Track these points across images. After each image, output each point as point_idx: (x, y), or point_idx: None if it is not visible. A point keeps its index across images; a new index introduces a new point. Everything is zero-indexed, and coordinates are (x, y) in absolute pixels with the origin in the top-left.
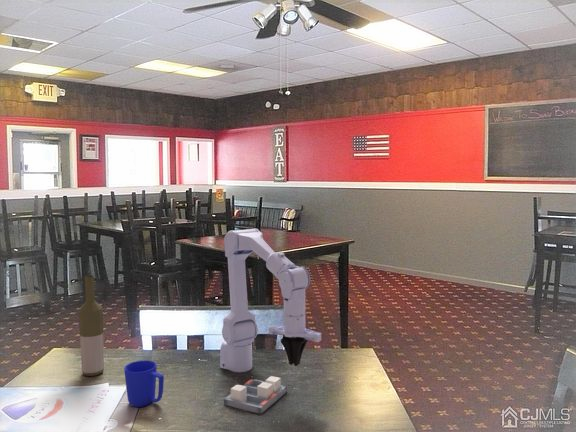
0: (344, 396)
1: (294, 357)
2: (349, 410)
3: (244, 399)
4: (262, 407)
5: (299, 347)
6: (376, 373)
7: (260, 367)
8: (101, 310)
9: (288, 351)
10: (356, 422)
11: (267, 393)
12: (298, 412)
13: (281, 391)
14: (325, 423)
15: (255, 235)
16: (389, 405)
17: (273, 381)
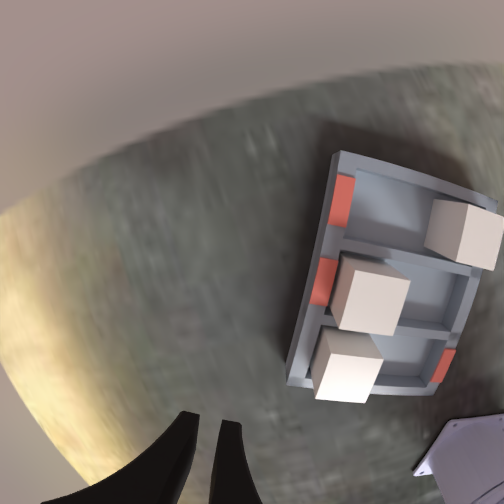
0: (99, 385)
1: (174, 450)
2: (54, 301)
3: (434, 231)
4: (337, 165)
5: (65, 497)
6: None
7: (404, 477)
8: None
9: (224, 496)
10: (23, 232)
11: (348, 266)
12: (196, 241)
13: (298, 342)
14: (87, 192)
15: None
16: (3, 345)
17: (342, 358)
